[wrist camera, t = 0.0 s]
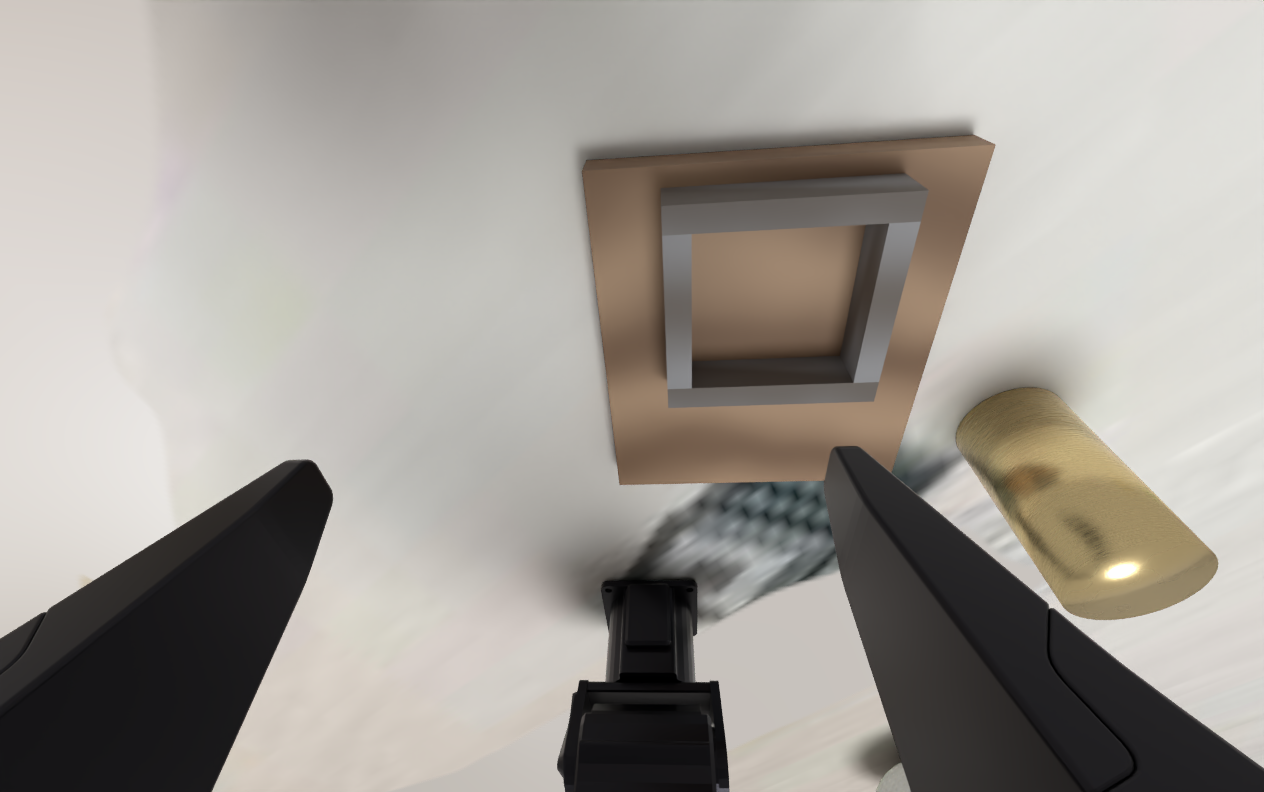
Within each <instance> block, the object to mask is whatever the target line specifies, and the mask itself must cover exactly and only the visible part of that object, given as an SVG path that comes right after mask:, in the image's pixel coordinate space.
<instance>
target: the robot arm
mask: <svg viewBox="0 0 1264 792" xmlns="http://www.w3.org/2000/svg"><path fill="white" fill-rule="evenodd" d="M824 493H825V499H826V504H827V509H828V514H829V519H830V524H831V529H832V534H833V539H834V544H835V549H836V554H837V559H838V564H839V569H840V573H841V578H842V581H843V584H844V587H845V591H846V594H847V597H848V600H849V603H850V606H851V609H852V613H853V616H854V619H855V622H856V625H857V628H858V631H859V634H860V637H861V640H862V643H863V646H864V649H865V652H866V655H867V658H868V662H869V665H870V668H871V671H872V674H873V677H874V680H875V683H876V686H877V689H878V692H879V695H880V698H881V701H882V705H883V708H884V711H885V714H886V717H887V720H888V723H889V726H890V729H891V732H892V735H893V738H894V741H895V744H896V747H897V750H898V754H899V757H900V760H901V763H902V766H903V769H904V772H905V775H906V778H907V781H908V784H909V787H910V790H911V792H1264V768H1263V767H1261V766H1260V765H1259V764H1257V763H1256V762H1254V761H1253V760H1252V759H1250V758H1249V757H1248V756H1246V755H1245V754H1243V753H1242V752H1241V751H1239V750H1238V749H1237V748H1235V747H1234V746H1232V745H1231V744H1230V743H1228V742H1227V741H1226V740H1224V739H1223V738H1221V737H1220V736H1219V735H1217V734H1216V733H1215V732H1213V731H1212V730H1211V729H1209V728H1208V727H1206V726H1205V725H1204V724H1202V723H1201V722H1200V721H1198V720H1197V719H1195V718H1194V717H1193V716H1191V715H1190V714H1189V713H1187V712H1186V711H1184V710H1183V709H1182V708H1180V707H1179V706H1178V705H1176V704H1175V703H1174V702H1172V701H1171V700H1170V699H1168V698H1167V697H1166V696H1164V695H1163V694H1162V693H1160V692H1159V691H1158V690H1156V689H1155V688H1154V687H1152V686H1151V685H1150V684H1148V683H1147V682H1146V681H1144V680H1143V679H1142V678H1140V677H1139V676H1138V675H1136V674H1135V673H1134V672H1132V671H1131V670H1130V669H1128V668H1127V667H1126V666H1124V665H1123V664H1122V663H1121V662H1119V661H1118V660H1117V659H1116V658H1114V657H1113V656H1112V655H1111V654H1109V653H1108V652H1107V651H1106V650H1104V649H1103V648H1102V647H1101V646H1099V645H1098V644H1097V643H1096V642H1094V641H1093V640H1092V639H1091V638H1089V637H1088V636H1087V635H1086V634H1084V633H1083V632H1082V631H1081V630H1080V629H1078V628H1077V627H1076V626H1075V625H1074V624H1072V623H1071V622H1070V621H1069V620H1068V619H1066V618H1065V617H1064V616H1063V615H1062V614H1060V613H1059V612H1058V611H1057V610H1055V609H1054V608H1050V609H1049V605H1048V603H1047V602H1046V601H1044V600H1043V599H1042V598H1041V597H1040V596H1038V595H1037V594H1036V593H1035V592H1034V591H1032V590H1031V589H1030V588H1029V587H1028V586H1026V585H1025V584H1024V583H1023V582H1022V581H1020V580H1019V579H1018V578H1017V577H1016V576H1014V575H1013V574H1012V573H1011V572H1010V571H1008V570H1007V569H1006V568H1005V567H1004V566H1002V565H1001V564H1000V563H999V562H997V561H996V560H995V559H994V558H993V557H992V556H990V555H989V554H988V553H987V552H986V551H984V550H983V549H982V548H981V547H980V546H978V545H977V544H976V543H975V542H974V541H972V540H971V539H970V538H969V537H968V536H966V535H965V534H964V533H963V532H962V531H960V530H959V529H958V528H957V527H956V526H954V525H953V524H952V523H951V522H950V521H948V520H947V519H946V518H945V517H944V516H942V515H941V514H940V513H939V512H938V511H936V510H935V509H934V508H933V507H932V506H930V505H929V504H928V503H927V502H926V501H924V500H923V499H922V498H921V497H920V496H918V495H917V494H916V493H915V492H914V491H912V490H911V489H910V488H909V487H908V486H906V485H905V484H904V483H903V482H902V481H900V480H899V479H898V478H897V477H896V476H895V475H893V474H892V473H891V472H890V471H889V470H887V469H886V468H885V467H884V466H883V465H881V464H880V463H879V462H878V461H877V460H875V459H874V458H873V457H872V456H871V455H869V454H868V453H867V452H866V451H865V450H863V449H862V448H860V447H858V446H836V447H834V448H833V449H832V450H831V452H830V456H829V461H828V466H827V470H826V475H825V480H824ZM332 503H333V493H332V490H331V488H330V486H329V485H328V483H327V481H326V480H325V478H324V476H323V475H322V473H321V471H320V470H319V468H318V466H317V465H316V464H315V463H314V462H313V461H311V460H288V461H285V462H283V463H281V464H280V465H278V466H276V467H275V468H273V469H272V470H270V471H268V472H267V473H265V474H264V475H262V476H260V477H259V478H257V479H256V480H254V481H252V482H251V483H249V484H248V485H246V486H244V487H243V488H241V489H240V490H238V491H236V492H235V493H233V494H232V495H230V496H228V497H227V498H225V499H224V500H222V501H220V502H219V503H217V504H216V505H214V506H212V507H211V508H209V509H208V510H206V511H204V512H203V513H201V514H200V515H198V516H196V517H195V518H193V519H192V520H190V521H188V522H187V523H185V524H184V525H182V526H180V527H179V528H177V529H176V530H174V531H172V532H171V533H169V534H168V535H166V536H164V537H163V538H161V539H160V540H158V541H156V542H155V543H153V544H152V545H150V546H148V547H147V548H145V549H144V550H142V551H141V552H139V553H138V554H136V555H134V556H132V557H131V558H129V559H128V560H126V561H124V562H123V563H121V564H120V565H118V566H116V567H115V568H113V569H112V570H110V571H108V572H107V573H105V574H104V575H102V576H100V577H99V578H97V579H96V580H94V581H92V582H91V583H89V584H87V585H86V586H84V587H83V588H81V589H79V590H78V591H76V592H75V593H73V594H71V595H70V596H68V597H67V598H65V599H64V600H62V601H60V602H59V603H57V604H56V605H54V606H52V607H51V608H50V609H49V610H48V611H47V612H44V613H41V614H39V615H38V616H36V617H34V618H33V619H31V620H30V621H28V622H26V623H25V624H23V625H22V626H20V627H18V628H17V629H15V630H14V631H12V632H10V633H9V634H7V635H6V636H4V637H2V638H1V639H0V792H212V790H213V788H214V786H215V783H216V781H217V779H218V777H219V774H220V772H221V770H222V768H223V766H224V763H225V761H226V759H227V757H228V755H229V752H230V750H231V748H232V746H233V743H234V741H235V739H236V737H237V735H238V732H239V730H240V728H241V726H242V724H243V721H244V719H245V717H246V715H247V712H248V710H249V708H250V706H251V704H252V701H253V699H254V697H255V695H256V693H257V690H258V688H259V686H260V684H261V681H262V679H263V677H264V675H265V673H266V670H267V668H268V666H269V664H270V662H271V659H272V657H273V655H274V653H275V650H276V648H277V646H278V644H279V642H280V639H281V637H282V635H283V633H284V631H285V628H286V626H287V624H288V622H289V619H290V617H291V615H292V613H293V611H294V608H295V606H296V604H297V602H298V600H299V597H300V595H301V593H302V590H303V588H304V586H305V583H306V581H307V578H308V575H309V572H310V570H311V567H312V564H313V561H314V558H315V555H316V552H317V549H318V546H319V543H320V540H321V537H322V534H323V531H324V528H325V525H326V522H327V519H328V516H329V513H330V510H331V507H332ZM601 592H602V597H603V603H604V608H605V614H606V620H607V625H608V631H609V640H608V654H607V668H606V681H605V682H589V681H588V680H580V681H579V686H578V691H577V692H575V693H574V694H573V696H572V705H571V713H570V719H569V724H568V728H567V732H566V735H565V738H564V741H563V745H562V748H561V751H560V755H559V758H558V763H557V769H558V771H559V772H560V774H561V775H562V777H563V778H564V787H565V792H729V774H728V760H727V749H726V740H725V732H724V724H723V716H722V708H721V699H720V691H719V682H718V681H710V682H695V668H694V667H695V666H694V649H693V636H695V635H696V634H697V583H696V582H695V581H691V580H672V581H605V582H603V583H602V588H601Z"/></svg>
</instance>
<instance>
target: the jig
mask: <svg viewBox="0 0 1264 792" xmlns="http://www.w3.org/2000/svg"><path fill="white" fill-rule="evenodd" d="M994 148H995V144H993V143H991V142H989V141H986V140H984V139H982V138H980V137H978V136H975V135H967V136H952V137H937V138H921V139H906V140H891V141H875V142H860V143H845V144H829V145H814V146H799V147H783V148H768V149H753V150H737V151H722V152H707V153H691V154H676V155H661V156H645V157H630V158H615V159H599V160H586V163H585V165H584V167H583V170H582V175H583V183H584V192H585V200H586V208H587V217H588V225H589V233H590V242H591V250H592V258H593V267H594V275H595V283H596V292H597V300H598V308H599V317H600V325H601V333H602V342H603V350H604V358H605V367H606V375H607V383H608V392H609V400H610V408H611V417H612V425H613V433H614V442H615V450H616V458H617V467H618V475H619V483H620V485H636V484H683V483H730V482H777V481H824V480H825V475H826V470H827V466H828V461H829V456H830V452H831V450H832V449H833V448H834V447H836V446H858V447H860V448H862V449H863V450H865V451H866V452H867V453H868V454H869V455H871V456H872V457H873V458H874V459H875V460H877V461H878V462H879V463H880V464H881V465H883V466H884V467H885V468H886V469H887V470H889V471H890V472H892V469H893V466H894V462H895V459H896V456H897V453H898V450H899V447H900V444H901V440H902V437H903V434H904V431H905V428H906V425H907V422H908V418H909V415H910V412H911V409H912V406H913V403H914V400H915V396H916V393H917V390H918V387H919V384H920V381H921V378H922V374H923V371H924V368H925V365H926V362H927V359H928V356H929V352H930V349H931V346H932V343H933V340H934V337H935V334H936V330H937V327H938V324H939V321H940V318H941V315H942V312H943V308H944V305H945V302H946V299H947V296H948V293H949V290H950V286H951V283H952V280H953V277H954V274H955V271H956V268H957V264H958V261H959V258H960V255H961V252H962V249H963V246H964V242H965V239H966V236H967V233H968V230H969V227H970V224H971V220H972V217H973V214H974V211H975V208H976V205H977V202H978V199H979V195H980V192H981V189H982V186H983V183H984V180H985V177H986V173H987V170H988V167H989V164H990V161H991V158H992V155H993V151H994Z"/></svg>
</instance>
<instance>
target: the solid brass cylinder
mask: <svg viewBox="0 0 1264 792" xmlns="http://www.w3.org/2000/svg"><path fill="white" fill-rule="evenodd" d="M956 443H957V447H958V448H959V450H960V452H961V453H962V455H963V456H964V458H965V459H966V461H967V462H968V464H969V465H970V467H971V468H972V470H973V471H974V473H975V474H976V476H977V477H978V479H979V480H980V482H981V483H982V485H983V486H984V488H985V489H986V491H987V492H988V494H989V495H990V497H991V499H992V500H993V502H994V503H995V505H996V506H997V508H998V509H999V511H1000V512H1001V514H1002V515H1003V517H1004V518H1005V520H1006V521H1007V523H1008V524H1009V526H1010V527H1011V529H1012V530H1013V532H1014V533H1015V535H1016V536H1017V538H1018V539H1019V541H1020V542H1021V544H1022V545H1023V547H1024V548H1025V550H1026V551H1027V553H1028V554H1029V556H1030V557H1031V559H1032V560H1033V562H1034V564H1035V565H1036V567H1037V568H1038V570H1039V571H1040V573H1041V574H1042V576H1043V577H1044V579H1045V580H1046V582H1047V583H1048V585H1049V586H1050V588H1051V589H1052V591H1053V592H1054V594H1055V595H1056V597H1057V598H1058V600H1059V601H1060V603H1061V604H1062V606H1063V607H1064V608H1065V609H1066V610H1067V611H1068V612H1070V613H1071V614H1073V615H1076V616H1079V617H1082V618H1087V619H1095V620H1115V619H1125V618H1131V617H1136V616H1141V615H1145V614H1149V613H1153V612H1156V611H1159V610H1162V609H1165V608H1167V607H1170V606H1172V605H1174V604H1177V603H1179V602H1181V601H1183V600H1185V599H1187V598H1189V597H1190V596H1192V595H1193V594H1195V593H1196V592H1198V591H1199V590H1201V589H1202V588H1203V587H1204V586H1205V585H1206V584H1208V583H1209V581H1210V580H1211V579H1212V578H1213V576H1214V575H1215V573H1216V571H1217V568H1218V559H1217V557H1216V555H1215V554H1214V553H1213V552H1212V551H1211V550H1210V549H1209V548H1208V547H1207V546H1206V545H1205V544H1204V543H1203V542H1202V541H1201V540H1200V539H1199V538H1198V537H1197V536H1196V535H1195V534H1194V533H1193V532H1192V531H1191V530H1190V529H1189V528H1188V527H1187V526H1186V525H1185V524H1184V523H1183V522H1182V521H1181V520H1180V519H1179V518H1178V517H1177V516H1176V515H1175V514H1174V513H1173V512H1172V511H1171V510H1170V509H1169V508H1168V507H1167V506H1166V505H1165V504H1164V503H1163V502H1162V501H1161V500H1160V499H1159V497H1158V496H1157V495H1156V494H1155V493H1154V492H1153V491H1152V490H1151V489H1150V488H1149V487H1148V486H1147V485H1146V484H1145V483H1144V482H1143V481H1142V480H1141V479H1140V478H1139V477H1138V476H1137V475H1136V474H1135V473H1134V472H1133V471H1132V470H1131V469H1130V468H1129V467H1128V466H1127V465H1126V464H1125V463H1124V462H1123V461H1122V460H1121V459H1120V458H1119V457H1118V456H1117V455H1116V454H1115V453H1114V452H1113V451H1112V450H1111V449H1110V448H1109V447H1108V446H1107V445H1106V444H1105V443H1104V442H1103V441H1102V440H1101V439H1100V438H1099V437H1098V436H1097V435H1096V434H1095V433H1094V432H1093V431H1092V430H1091V429H1090V428H1089V427H1088V426H1087V425H1086V424H1085V423H1084V422H1083V421H1082V420H1081V419H1080V418H1079V417H1078V416H1077V415H1076V414H1075V413H1074V412H1073V411H1072V410H1071V409H1070V408H1069V407H1068V406H1067V405H1066V404H1065V403H1064V402H1063V401H1062V400H1061V399H1060V398H1059V397H1058V396H1057V395H1056V394H1054V393H1053V392H1050V391H1048V390H1045V389H1041V388H1018V389H1013V390H1009V391H1005V392H1002V393H999V394H997V395H995V396H992V397H990V398H988V399H986V400H985V401H983V402H982V403H980V404H978V405H977V406H976V407H975V408H973V409H972V410H971V411H970V412H969V413H968V414H967V415H966V416H965V417H964V419H963V420H962V422H961V423H960V425H959V427H958V430H957V433H956Z"/></svg>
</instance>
